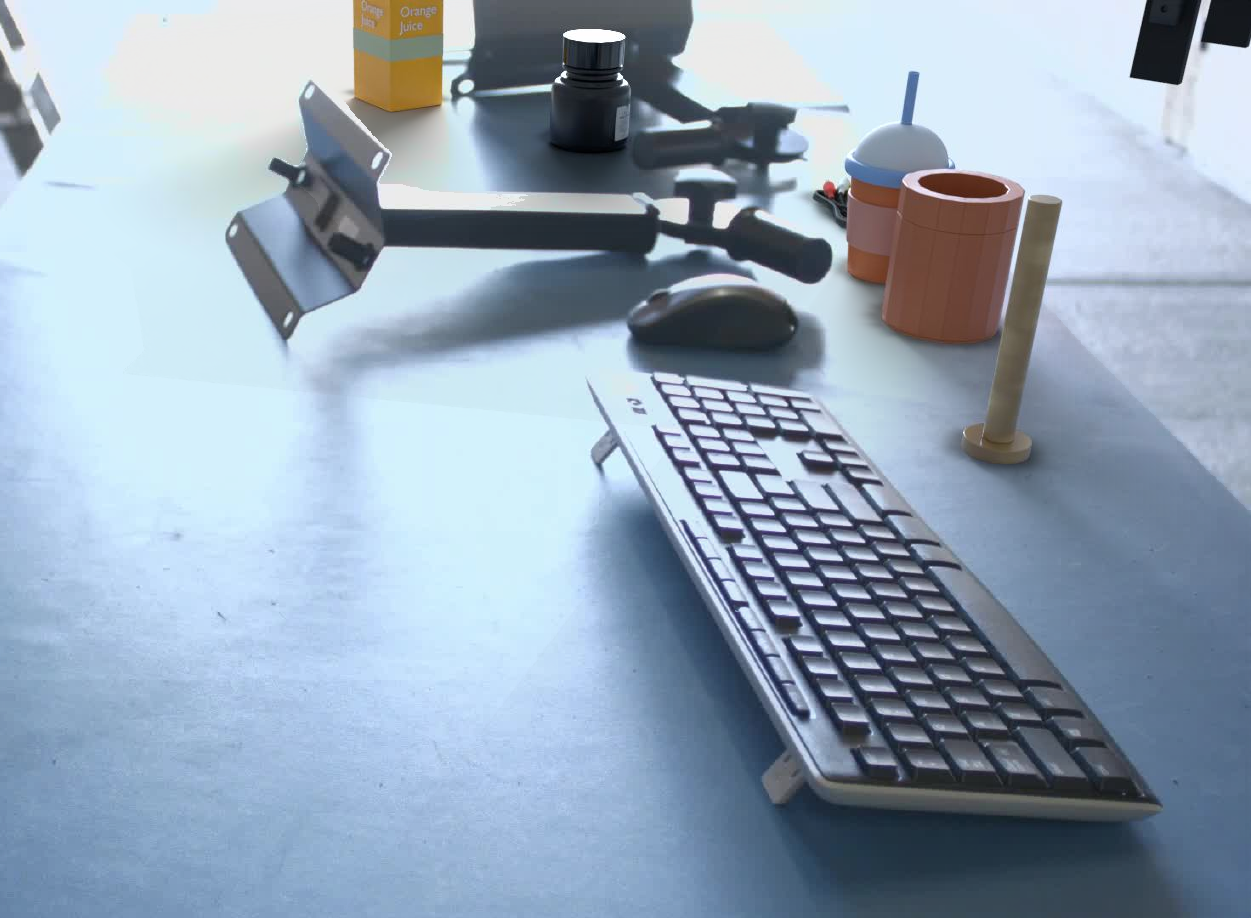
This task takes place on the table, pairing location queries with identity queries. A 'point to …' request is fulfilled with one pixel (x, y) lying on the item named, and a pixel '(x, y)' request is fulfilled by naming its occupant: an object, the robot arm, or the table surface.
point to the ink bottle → (590, 93)
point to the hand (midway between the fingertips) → (1191, 62)
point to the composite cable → (835, 199)
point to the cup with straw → (885, 185)
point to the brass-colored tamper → (1017, 340)
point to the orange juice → (398, 53)
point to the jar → (951, 255)
